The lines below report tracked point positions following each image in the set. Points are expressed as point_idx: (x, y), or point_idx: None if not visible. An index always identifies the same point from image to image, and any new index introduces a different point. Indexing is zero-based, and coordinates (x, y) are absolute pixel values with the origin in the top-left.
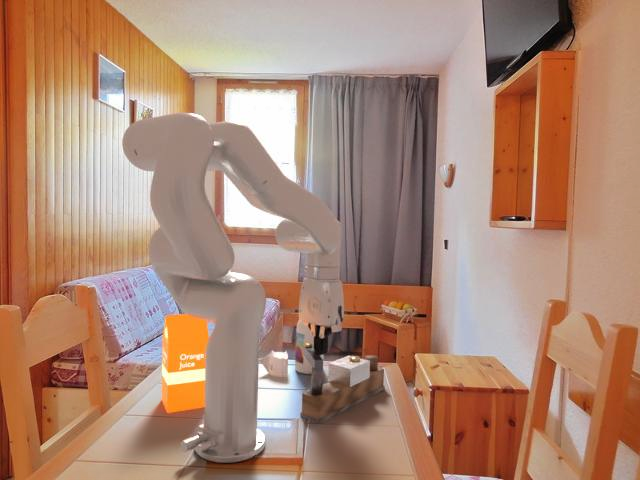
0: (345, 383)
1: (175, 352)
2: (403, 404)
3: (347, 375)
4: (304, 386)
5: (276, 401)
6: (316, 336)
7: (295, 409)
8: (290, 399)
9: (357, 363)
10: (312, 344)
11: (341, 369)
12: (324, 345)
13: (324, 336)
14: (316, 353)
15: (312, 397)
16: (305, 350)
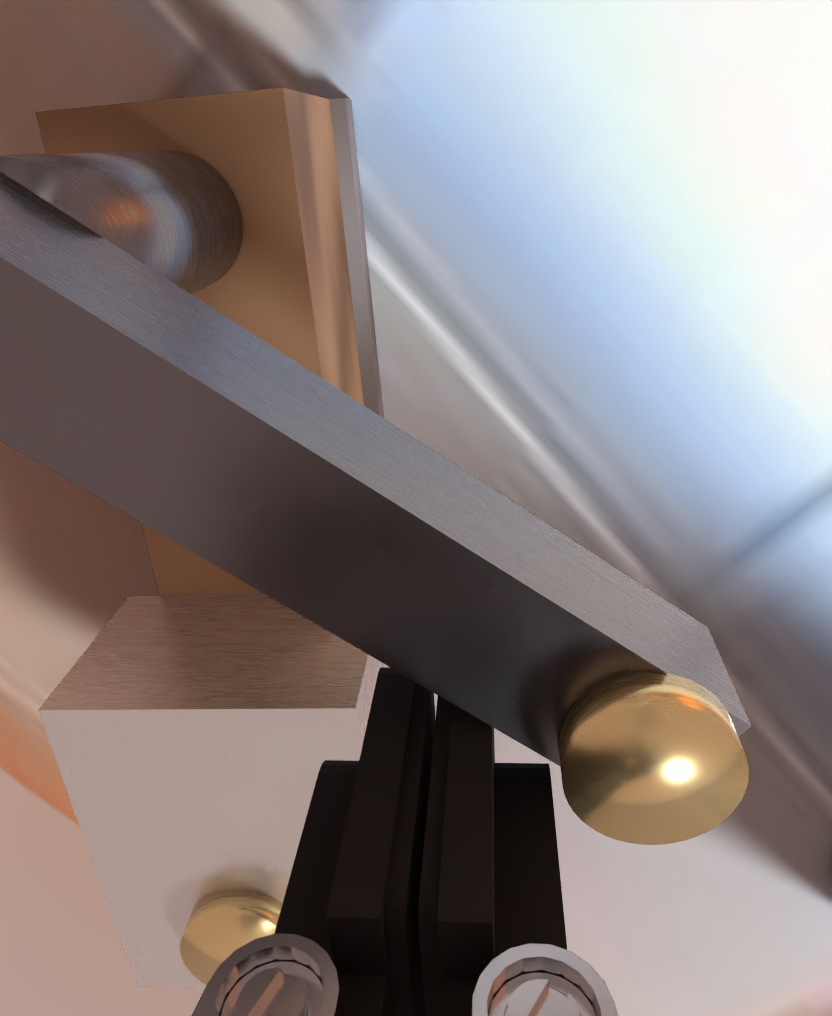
0: (170, 605)
1: None
2: (56, 781)
3: (113, 656)
4: (765, 605)
5: (760, 180)
6: (481, 976)
7: (493, 184)
8: (680, 317)
9: (147, 876)
10: (573, 805)
11: (175, 686)
12: (303, 846)
13: (218, 1008)
14: (195, 526)
15: (133, 104)
16: (592, 604)
